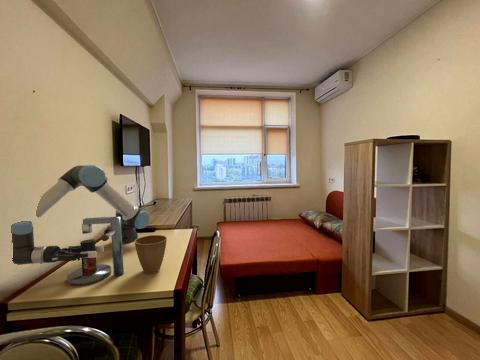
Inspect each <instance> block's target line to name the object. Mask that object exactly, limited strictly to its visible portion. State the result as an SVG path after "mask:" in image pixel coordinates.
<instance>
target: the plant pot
mask: <svg viewBox="0 0 480 360" xmlns="http://www.w3.org/2000/svg"><path fill="white" fill-rule="evenodd" d="M167 240H168V239H167V236H165V235H161V234H151V235H145V236H141V237H138V239H136V240H135V241H134V246H135V252H136V255H137V258H138V261H139V264H140V266H141V269H142V270H143V273H145V274H147V275H149V274H150V275H151V274H155V273H158V272H159V271H161V266H162V264H163V260H164V257H165V253H166V247H167Z"/></svg>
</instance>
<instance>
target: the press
mask: <svg viewBox="0 0 480 360" xmlns="http://www.w3.org/2000/svg"><path fill="white" fill-rule="evenodd" d="M102 224H103V225H105V224H107V225H108V224H110V231H108V232H107V233H104V234H102V235H100V236H101V237H100V240H101V241H103V242H106V241H108V240H109V239H110V238H111V251H112V252H111V253H112V266H113V267H112V266H110V265H109V264H105V263H104V264H102V263H101V264H98V263H97V271H96V272H95V273H93V274H89V275H83V274H82V267H81V268H80V267H79V268H78V269H75V270H73V271H71V272H70V273H69V274H68V275H66V283H67V285H69V286H70V287H71V286H72V287H82V286H88V285H92V284H96V283H98V282H101V281H103V280H105V279H107V278H109V276H110V275H111V274H112V273H113V276H114V277H120V276H123V275H124V274H125V272H124V269H125V268H124V253H123V251H124V250H123V243H122V231H121V217H120V216H116V215H115V216H107V217H106V216H104V217H103V216H101V217H85V218H83V219H82V223H81V234H83V235H86V234H91V233H93V225H102ZM112 268H113V270H112ZM112 271H113V272H112Z"/></svg>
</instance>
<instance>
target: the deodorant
mask: <svg viewBox="0 0 480 360" xmlns="http://www.w3.org/2000/svg"><path fill="white" fill-rule="evenodd" d="M79 244H80V246H81V252H89V251H96V247H95V246H96V239H93V238H92V239H84V240H82V241H80V242H79ZM80 261H81V268H82V274H83V275H89V274H93V273H95V272H96V271H97V265H98V263H97V257H94V258H80Z"/></svg>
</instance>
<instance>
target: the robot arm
mask: <svg viewBox="0 0 480 360" xmlns="http://www.w3.org/2000/svg"><path fill="white" fill-rule="evenodd" d="M108 181H109V178H108V177H107V176H106V172H105V170H103V168H101V167H100V166H98V165H94V164H88V165H85V164H84V165H76V166H73V167H71V168H70V169H69V170H67V171H66V172H65V173H63V175H61V176H60V177H59V178H58V179H57V182H55V184H54V185H52V186H51V187H50V188H49V189H48V190H46V191H45V192H44V193H43V194H42V195H43V196H42V195H41V196H42V197H41V196H40V197H41V199H40V201H39V203H38V206H37V210H36V216H37V217H38V218H39V217H40V218H41V217H42V216H44V215H45V214H46V213H47V212H48V211H49V210H50V209H52V208H53V207H54V206H55V205H56V204H57V203H58V202H60V201H61V200H62V198H65V197H66V195H67V194H68V193H70V192H74V191H75V190H76V189H77V188H79V187H81V186H82V187H84V188H85V189H86V190H87V191H88V192H90V193H94V194H95V193H96V195H98V196H99V197H100V198H101V199H102V200H104V201H105V202H106V203H107V204H108V205H110V206H111V207H112V208H113V209H114V210H115V217H116V216H120V217H121V231H122V244H128V243H129V244H130V243H134V242H135V240H136V239H138V238H139V235H138V232H137V230H136V229H144V228H146V227H147V226H148V225H149V223H150V218H151V216H150V212H148V211H145V210H142V209H141V208H140V207H139V206H138V205H136V204H135V205H133V204H132V203H131V202H130V201H129V200H128V199H126V198H125V197H124V196H123V195H122V194H121V193H120V191H118V190H117V189H116V188H115V187H114V186H112V185H111V184H110V183H109V182H108ZM40 218H39V219H40ZM33 225H34V224H32V222H31V221H21V222H17V223H14V224H12V225H11V233H12V240H11V244H12V243H13V258H12V259H13V260H12V261H13V263H14V264H17V265H18V266H21V265H31V264H35V265H36V264H39V265H43V264H48V263H49V264H51V263H57V262H69V261H70V262H73V261H74V262H75V261H81V258H94V257H96V258H97V257H98V256H97V253H98V252H101V253H102V252H104V251H105V250H104V245H95V247H96V251H89V252H81V245H69V246H68V247H63V248H61V247H60V246H59V245H42V246H40V245H39V246H35V237H34V236H35V235H34V226H33Z"/></svg>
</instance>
